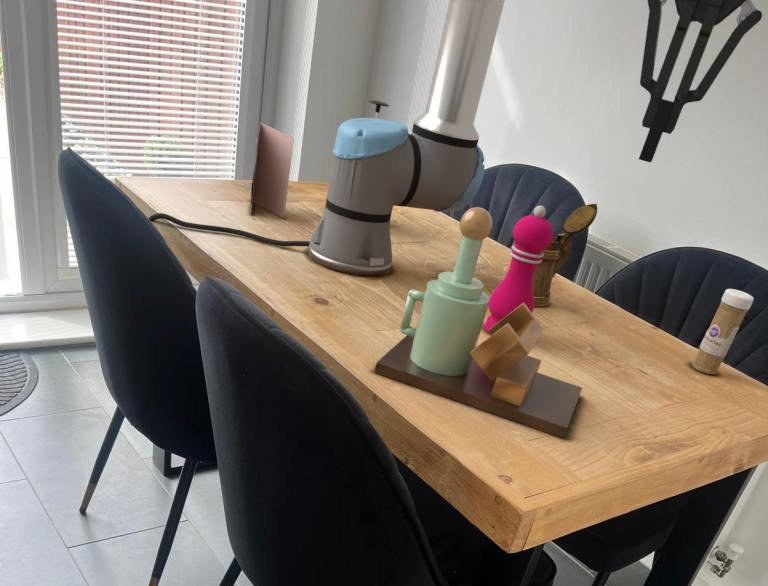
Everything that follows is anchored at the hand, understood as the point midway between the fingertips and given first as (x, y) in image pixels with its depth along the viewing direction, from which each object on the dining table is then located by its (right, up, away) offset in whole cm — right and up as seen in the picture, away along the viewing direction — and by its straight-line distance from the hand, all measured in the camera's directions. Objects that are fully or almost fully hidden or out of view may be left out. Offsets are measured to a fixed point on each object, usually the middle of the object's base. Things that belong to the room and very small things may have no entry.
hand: (645, 159), depth 93 cm
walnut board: (-19, -26, +11) cm, 34 cm away
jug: (-20, -24, +10) cm, 32 cm away
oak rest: (-16, -25, +10) cm, 32 cm away
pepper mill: (-13, -14, +31) cm, 36 cm away
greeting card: (-56, +18, +62) cm, 86 cm away
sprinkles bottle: (+22, -19, +37) cm, 47 cm away
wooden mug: (-4, -3, +50) cm, 51 cm away
